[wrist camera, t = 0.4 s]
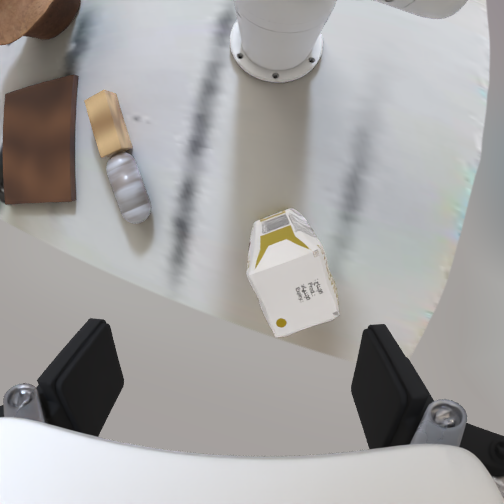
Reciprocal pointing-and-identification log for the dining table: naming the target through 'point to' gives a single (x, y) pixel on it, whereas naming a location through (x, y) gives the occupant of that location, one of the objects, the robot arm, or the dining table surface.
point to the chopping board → (40, 142)
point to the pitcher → (35, 18)
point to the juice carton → (290, 273)
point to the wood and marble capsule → (118, 156)
